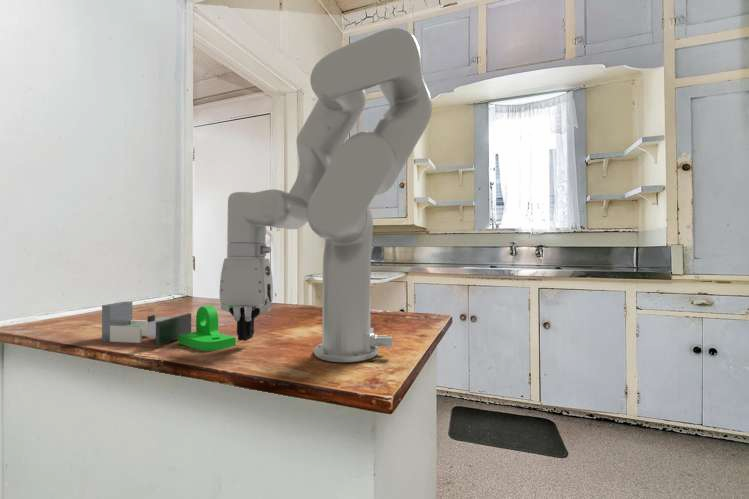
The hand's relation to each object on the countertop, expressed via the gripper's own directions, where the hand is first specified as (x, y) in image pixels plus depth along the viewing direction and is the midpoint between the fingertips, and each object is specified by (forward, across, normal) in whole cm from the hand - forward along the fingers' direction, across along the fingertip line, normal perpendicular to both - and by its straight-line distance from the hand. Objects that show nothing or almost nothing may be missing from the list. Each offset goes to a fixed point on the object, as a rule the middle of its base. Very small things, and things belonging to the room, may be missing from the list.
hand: (245, 338), depth 72 cm
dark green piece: (+1, +20, -1) cm, 20 cm away
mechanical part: (+2, +10, -1) cm, 10 cm away
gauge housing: (+2, +29, -3) cm, 30 cm away
